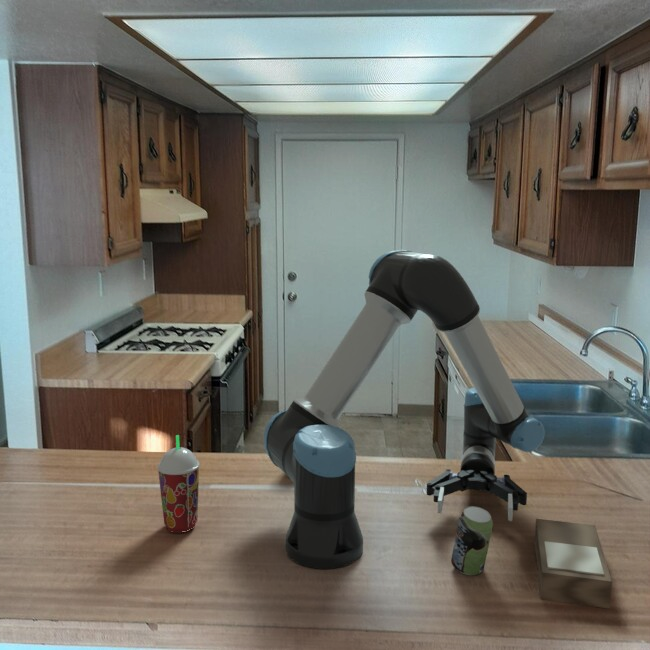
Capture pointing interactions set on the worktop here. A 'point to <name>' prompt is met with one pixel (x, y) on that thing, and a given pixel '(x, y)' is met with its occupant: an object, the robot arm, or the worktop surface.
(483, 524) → the beverage can
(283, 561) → the worktop surface
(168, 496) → the smoothie
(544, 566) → the riser
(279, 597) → the worktop surface
